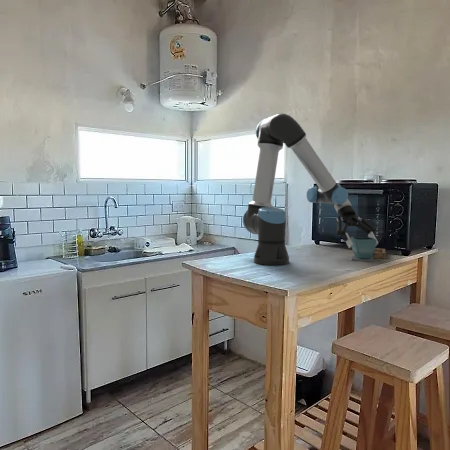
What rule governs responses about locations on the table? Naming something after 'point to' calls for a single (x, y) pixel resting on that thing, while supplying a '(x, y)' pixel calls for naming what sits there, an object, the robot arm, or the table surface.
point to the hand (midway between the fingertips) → (363, 245)
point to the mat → (362, 259)
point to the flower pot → (363, 246)
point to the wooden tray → (379, 253)
